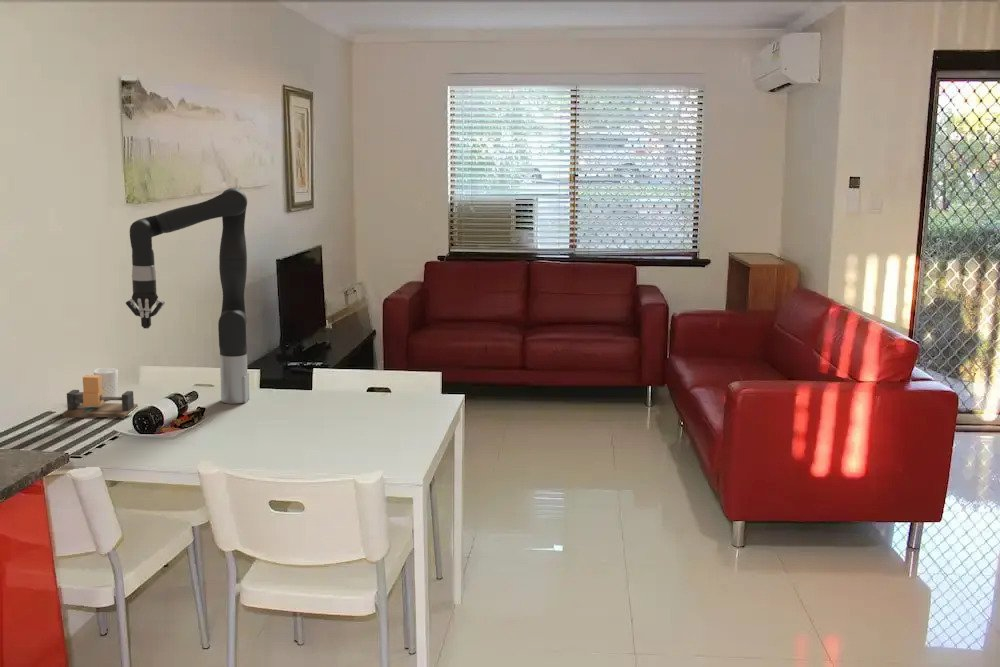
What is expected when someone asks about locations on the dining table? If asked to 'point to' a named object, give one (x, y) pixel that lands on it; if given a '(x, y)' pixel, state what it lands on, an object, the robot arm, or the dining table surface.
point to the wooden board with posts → (103, 410)
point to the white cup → (108, 381)
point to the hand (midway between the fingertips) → (146, 328)
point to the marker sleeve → (92, 390)
